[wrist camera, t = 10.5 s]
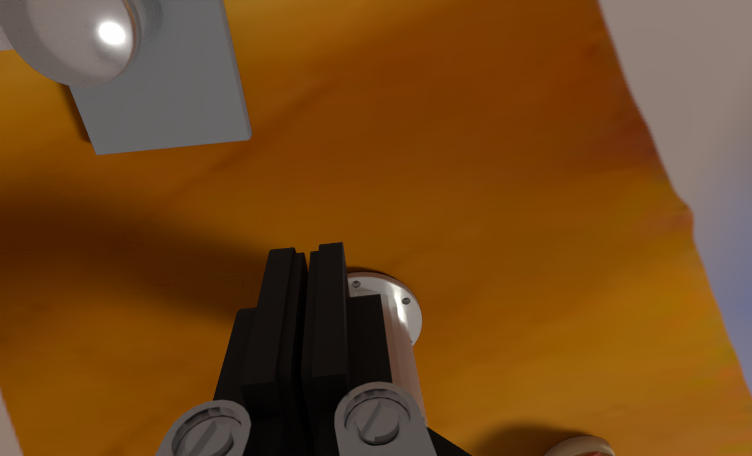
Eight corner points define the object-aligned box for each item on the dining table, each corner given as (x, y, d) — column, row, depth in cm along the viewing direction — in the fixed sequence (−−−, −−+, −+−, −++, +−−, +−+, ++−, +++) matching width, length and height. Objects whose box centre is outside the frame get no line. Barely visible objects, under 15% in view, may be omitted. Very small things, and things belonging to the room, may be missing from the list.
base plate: (252, 133, 39) (248, 140, 37) (104, 148, 38) (95, 155, 37) (182, -183, 29) (175, -190, 27) (-18, -167, 28) (-36, -173, 27)
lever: (160, -51, 30) (103, -54, 23) (189, 53, 34) (148, 80, 26) (-110, -22, 30) (-256, -15, 23) (-54, 80, 33) (-166, 115, 26)
